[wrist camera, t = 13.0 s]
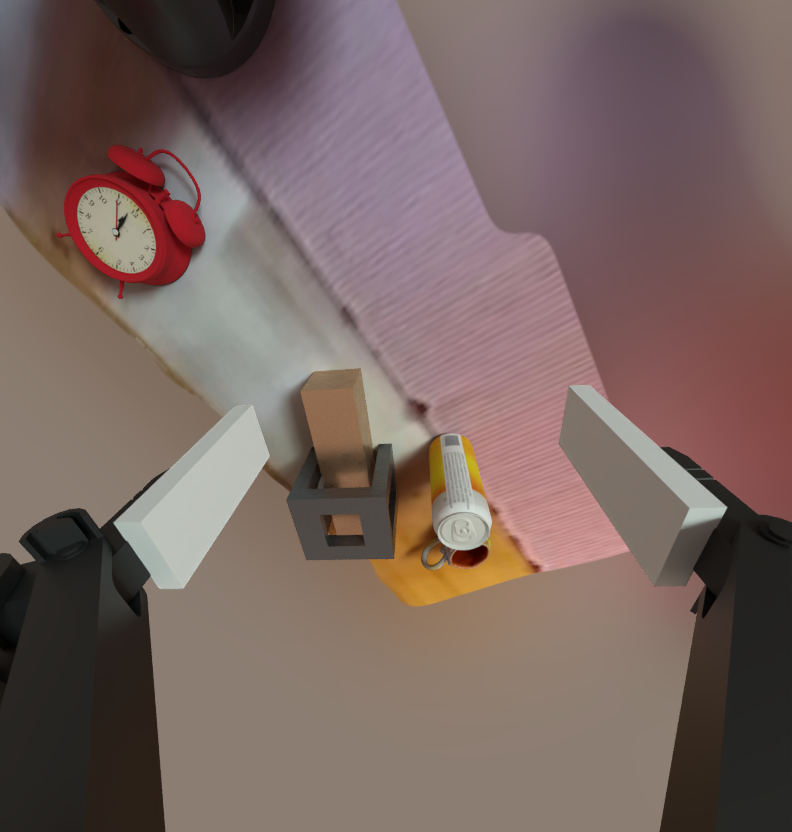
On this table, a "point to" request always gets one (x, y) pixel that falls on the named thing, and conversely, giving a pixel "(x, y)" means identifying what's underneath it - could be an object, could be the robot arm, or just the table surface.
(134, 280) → the alarm clock
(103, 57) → the table surface
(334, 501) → the collar block
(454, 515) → the yellow can
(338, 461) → the banded wooden beam
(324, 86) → the table surface
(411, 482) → the table surface
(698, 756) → the robot arm
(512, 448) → the table surface
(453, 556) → the mug
